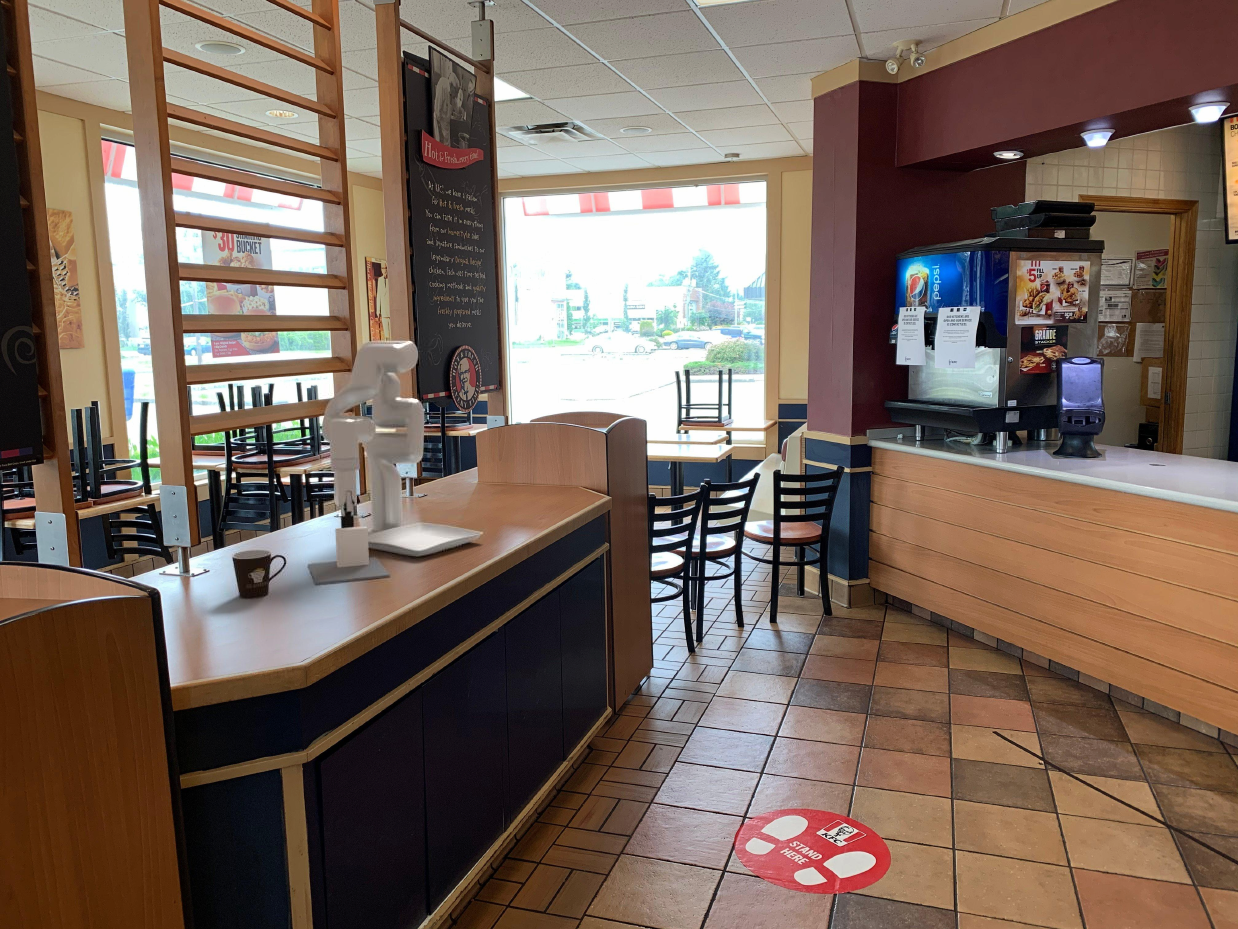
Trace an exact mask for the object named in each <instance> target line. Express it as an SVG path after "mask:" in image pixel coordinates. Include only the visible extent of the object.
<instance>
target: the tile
mask: <svg viewBox="0 0 1238 929" xmlns="http://www.w3.org/2000/svg"><path fill="white" fill-rule="evenodd" d="M334 530H335V548H336V561H337V566H338V567H348V566H358V565H368V564H369V558H370V556H369V552H370V551H369V548H368V535H369V534H368V527H367V525H365V526H364V525H363V526H354V527H351V528H341V527H339V528H335V529H334Z"/></svg>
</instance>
